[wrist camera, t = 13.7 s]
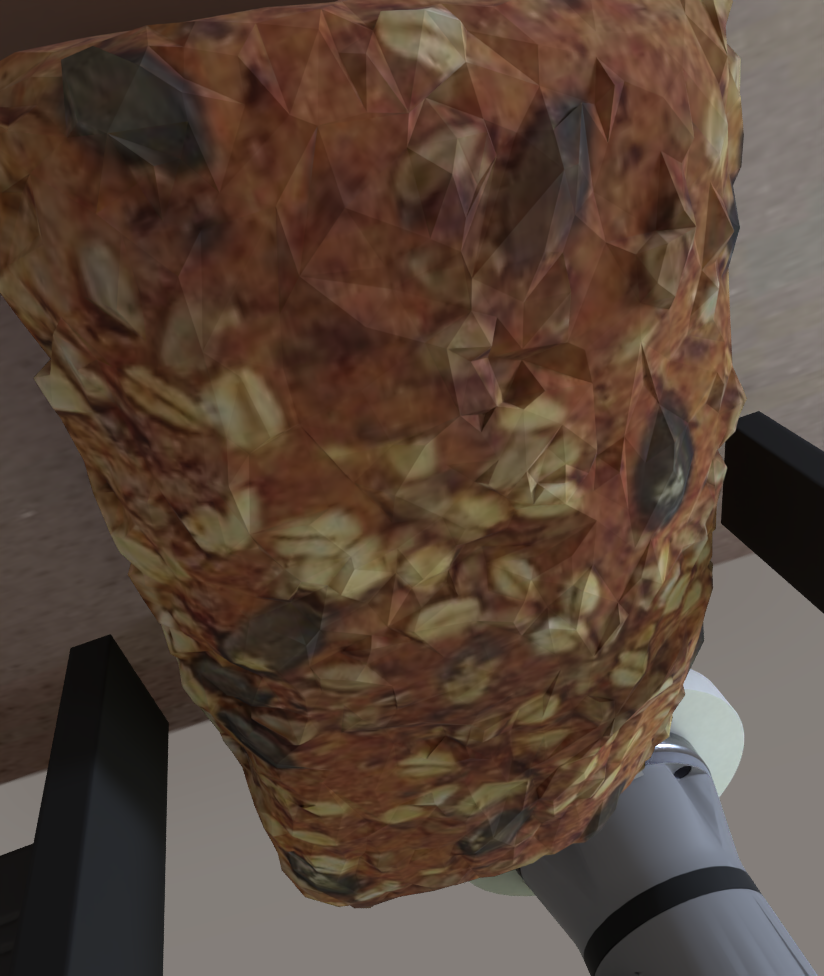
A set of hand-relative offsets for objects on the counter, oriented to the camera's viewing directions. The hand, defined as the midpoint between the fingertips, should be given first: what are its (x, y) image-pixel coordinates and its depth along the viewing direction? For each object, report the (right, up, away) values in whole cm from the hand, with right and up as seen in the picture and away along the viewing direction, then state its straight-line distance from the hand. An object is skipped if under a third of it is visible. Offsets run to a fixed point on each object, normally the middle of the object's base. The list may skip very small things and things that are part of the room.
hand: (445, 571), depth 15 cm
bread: (-2, +4, +5) cm, 7 cm away
